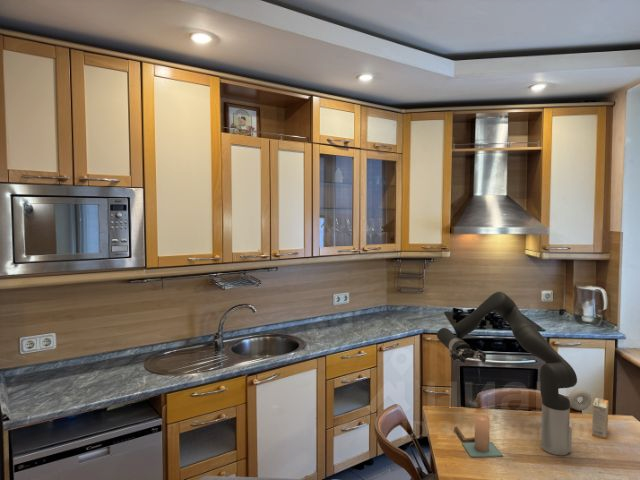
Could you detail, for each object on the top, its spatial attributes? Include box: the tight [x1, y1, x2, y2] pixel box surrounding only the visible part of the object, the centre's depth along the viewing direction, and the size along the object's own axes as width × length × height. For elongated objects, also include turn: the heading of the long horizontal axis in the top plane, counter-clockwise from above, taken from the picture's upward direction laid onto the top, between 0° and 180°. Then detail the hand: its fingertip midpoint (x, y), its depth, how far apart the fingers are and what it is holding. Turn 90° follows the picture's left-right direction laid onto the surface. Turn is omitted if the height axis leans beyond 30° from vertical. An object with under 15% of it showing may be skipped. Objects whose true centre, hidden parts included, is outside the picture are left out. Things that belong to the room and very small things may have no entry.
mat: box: [461, 441, 504, 459], centre depth 159 cm, size 12×9×1 cm
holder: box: [453, 426, 475, 443], centre depth 170 cm, size 10×10×2 cm
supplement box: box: [591, 397, 609, 440], centre depth 171 cm, size 8×5×13 cm, turn 141°
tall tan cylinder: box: [474, 414, 491, 453], centre depth 159 cm, size 5×5×12 cm
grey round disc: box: [567, 388, 592, 411], centre depth 191 cm, size 10×3×10 cm, turn 89°
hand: (474, 360), depth 175 cm, fingers open, 8 cm apart
